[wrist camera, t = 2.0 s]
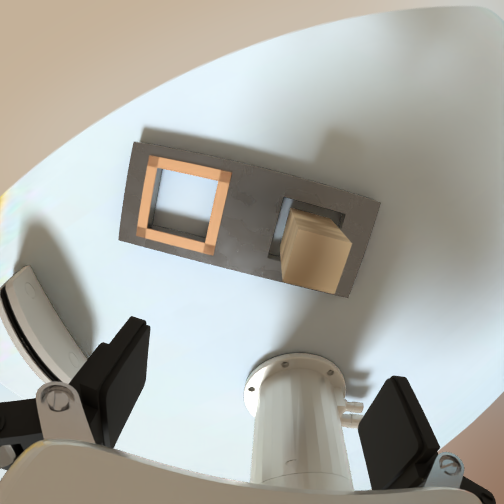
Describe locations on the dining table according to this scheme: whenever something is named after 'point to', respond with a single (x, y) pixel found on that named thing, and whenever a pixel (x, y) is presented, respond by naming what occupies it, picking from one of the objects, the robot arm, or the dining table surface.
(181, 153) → the grey flat holed plate
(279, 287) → the dining table surface
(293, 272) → the plug
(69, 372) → the grey slotted arched block
